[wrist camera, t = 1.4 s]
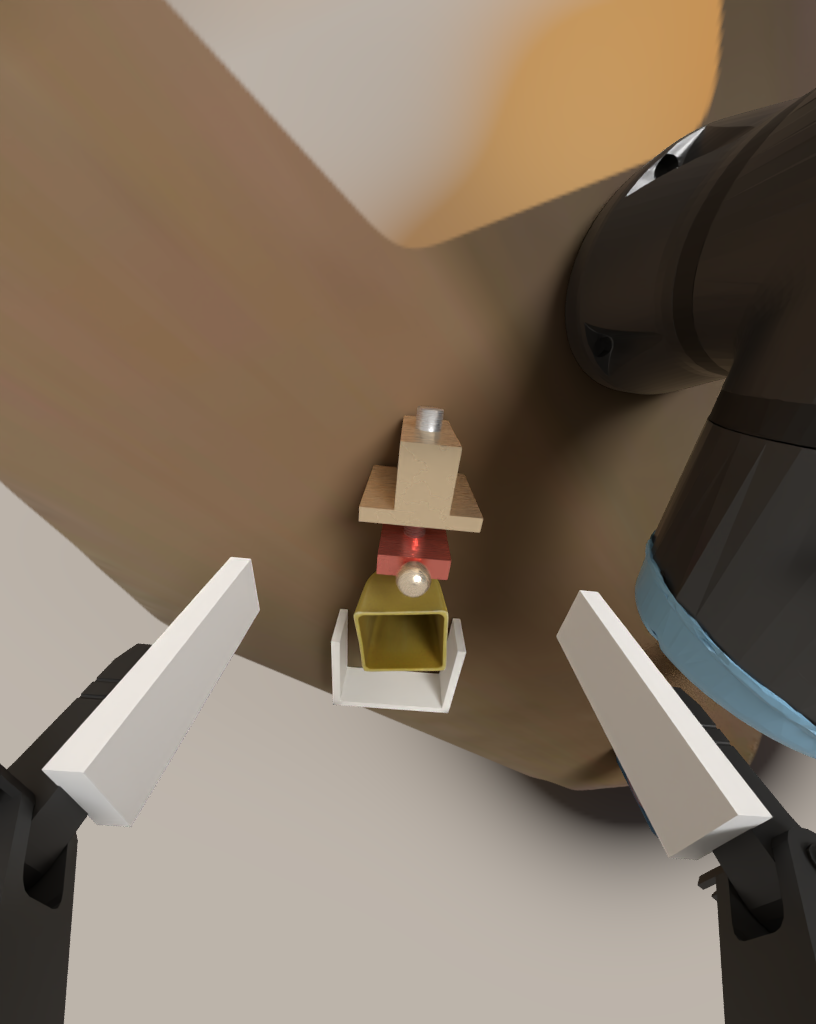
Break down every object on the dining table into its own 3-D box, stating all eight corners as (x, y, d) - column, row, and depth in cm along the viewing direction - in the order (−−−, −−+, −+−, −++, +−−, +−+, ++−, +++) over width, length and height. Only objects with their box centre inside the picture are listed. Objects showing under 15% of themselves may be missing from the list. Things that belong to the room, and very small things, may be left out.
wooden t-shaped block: (477, 405, 27) (517, 437, 16) (452, 531, 33) (469, 610, 23) (377, 394, 26) (355, 419, 16) (370, 524, 33) (352, 600, 22)
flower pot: (439, 607, 39) (446, 672, 31) (372, 608, 39) (362, 673, 31) (440, 552, 35) (448, 611, 27) (366, 553, 35) (352, 612, 27)
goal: (460, 618, 40) (466, 652, 35) (444, 678, 46) (448, 713, 41) (340, 608, 39) (331, 641, 35) (340, 670, 45) (333, 704, 41)
